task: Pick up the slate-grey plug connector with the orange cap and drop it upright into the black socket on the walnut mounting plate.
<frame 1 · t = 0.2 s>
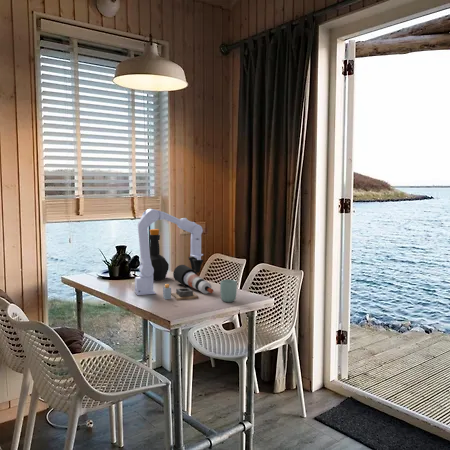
hand: (195, 271, 239), 10 cm above the table, tool pointing down, fingers open, 7 cm apart
bottle: (154, 279, 266), on the table
cable: (195, 289, 240), on the table
holder: (184, 296, 223), on the table
cup: (228, 301, 215), on the table
connector: (167, 298, 220), on the table
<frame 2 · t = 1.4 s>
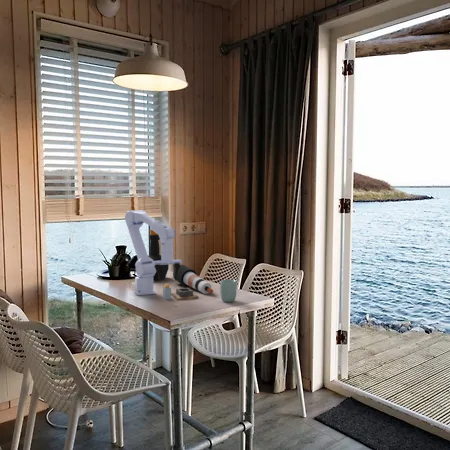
hand: (167, 279, 219), 10 cm above the table, tool pointing down, fingers open, 7 cm apart
nothing on the table moved.
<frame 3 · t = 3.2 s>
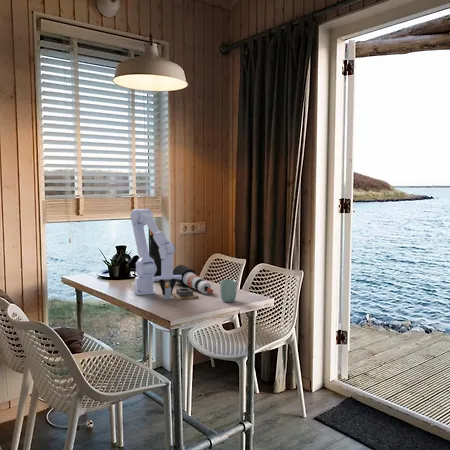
hand: (167, 294, 220), 2 cm above the table, tool pointing down, fingers closed on connector, 3 cm apart
connector: (167, 298, 220), on the table, touching gripper
everything else where it was.
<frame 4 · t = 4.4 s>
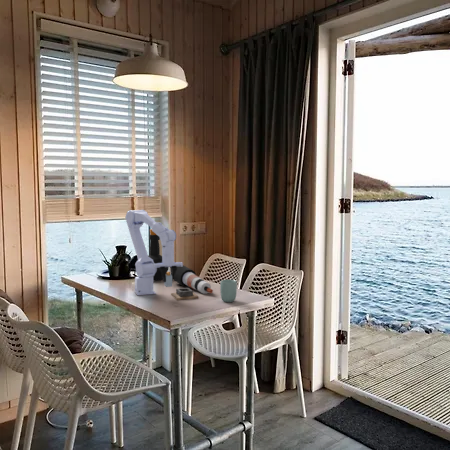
hand: (168, 281, 219), 8 cm above the table, tool pointing down, fingers closed on connector, 3 cm apart
connector: (168, 285, 219), point 6 cm above the table, touching gripper
everything else where it was.
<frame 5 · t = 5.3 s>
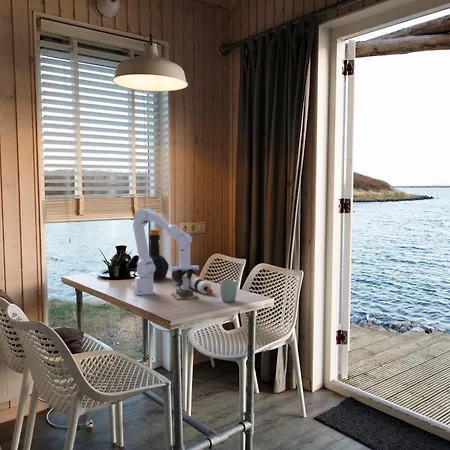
hand: (184, 284, 223), 6 cm above the table, tool pointing down, fingers closed on connector, 3 cm apart
connector: (184, 289, 223), point 4 cm above the table, touching gripper
everything else where it was.
when the fingers open (6 cm above the table, at t = 6.0 s): connector drops 2 cm, resting on holder.
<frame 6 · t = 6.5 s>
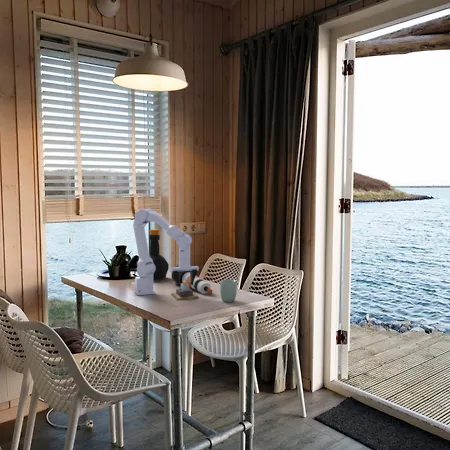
hand: (184, 285, 223), 6 cm above the table, tool pointing down, fingers open, 7 cm apart
connector: (184, 294, 223), point 1 cm above the table, touching holder
everything else where it was.
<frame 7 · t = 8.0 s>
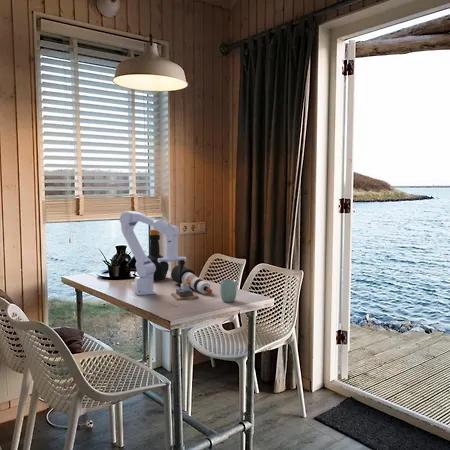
hand: (172, 275, 224), 10 cm above the table, tool pointing down, fingers open, 7 cm apart
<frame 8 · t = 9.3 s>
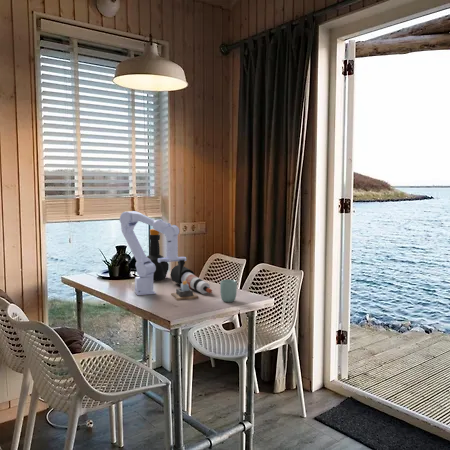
hand: (172, 275, 224), 10 cm above the table, tool pointing down, fingers open, 7 cm apart
at the end: connector 0.4 cm off-centre on the holder, point 1.0 cm above the holder's base; connector tilted 0°; the gripper is holding nothing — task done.
